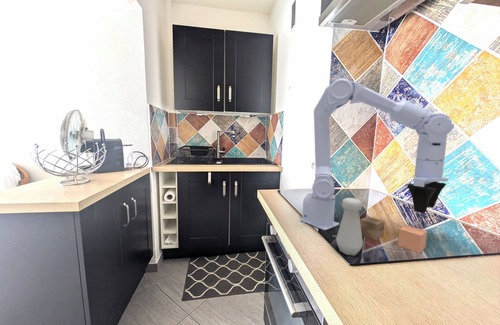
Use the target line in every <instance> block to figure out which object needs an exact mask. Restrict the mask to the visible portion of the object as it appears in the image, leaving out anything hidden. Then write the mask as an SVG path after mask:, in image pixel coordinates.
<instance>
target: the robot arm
mask: <svg viewBox="0 0 500 325" xmlns="http://www.w3.org/2000/svg"><path fill="white" fill-rule="evenodd" d="M348 102H349V104H350V105H352V104H358V103H362V104H365V105H367V106H370V107H373V108H375V109H377V110H380V111H383V112H385V113H388V115H389V118H390V120H391V121H393V122H396V123H397V124H400V125H402V126H404V127H407V128H409V129H410V130H413V131H415V132H416V133H417V135H418V139H417V146H416V147H417V148H416V158H415V165H414V166H415V167H414V174H413V183H408V184H407V189H408V191H409V193H410V195H411V198H412V205H413V210H414V212H416V213H422V214H425V213H426V212H427V210H428V208H430V209H433V208H435V205H436V203H437V201H438V199H439V196H440V194H441V192H442V191H443V189H444V188H445V187H446V185H447V183H445V182H448V181H449V178H448V177H443V174H444V167H445V166H444V165H445V158H446V150H447V149H446V148H447V138H448V135H449V134H450V133H451V132H452V131H453V129H454V128H455V124H454V123H453V121H452V119H451V117H450V116H448V115H447V114H445V113H435V110H434V109H432V108H429V109H428V108H427V109H426V108H425V107H422V106H420V105H418V104H416V101H414V100H413V99H410V100H405V99H404V100H401V101H398V102H397V101H395V100H393V99H391V98H389V97H387V96H385V95H383V94H381V93H379V92H376V91H375V90H373V89H371V88H369V87H367V86H365V85H363V84H361V83H359V82H357V81H354V80H353V81H350V80H349V79H347V78H346V77H345V78H343V77H341V78H337V79H335V80H334V81H332V82H331V83H330V84H329V85H328V86H327V87H326V88H325V90H324V91H323V94H322V95H321V96H320V99H319V100H318V102H317V104H316V106H315V107H314V110H313V128H314V129H313V130H314V134H313V135H314V158H315V159H314V160H315V174H314V175H315V178H314V180H313V181H314V182H313V183H312V187H311V188H312V193H308V194H306V195H305V196H304V198H303V201H302V215H301V216H302V218H300V221H301V222H303V223H305V224H308V225H310V226H313V227H315V228H318V229H320V230H322V231H326V230H329V229H332V228H335V227H337V226H340V222H337V221H335V209H336V208H335V206H336V196H335V195H334V194H335V181H334V179H333V177H332V175H331V174H332V173H331V170H332V169H331V139H330V138H331V135H330V134H331V132H330V131H331V130H330V129H331V128H330V117H331V115H332V114H333V113H334V112H335V111H337V109H339V108H341V107H343V106H345V105H346V104H347V103H348Z"/></svg>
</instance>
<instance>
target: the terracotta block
mask: <svg viewBox="0 0 500 325" xmlns="http://www.w3.org/2000/svg"><path fill="white" fill-rule="evenodd" d="M398 231H399V234H398V241H397V245H398V246H400V247H403V248H405V249H407V250H410V251H413V252H415V253H418V254H420V253H422V251H423V250H425V249H426V247H427V239H428V230H426V229H425V230H424V229H421V228H417V227H414V226H411V225H407V224H405V225H404V226H402V227H401V228H399V230H398Z"/></svg>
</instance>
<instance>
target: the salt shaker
mask: <svg viewBox="0 0 500 325" xmlns="http://www.w3.org/2000/svg"><path fill="white" fill-rule="evenodd" d="M341 206H342V208H343V214H342V218H341V221H340V223H339V229H338V231H337V235H336V237H335V238H336V239H335V240H336V243H337V246H338V250H339V252H341V253H342V254H344V255H345V256H346V255H347V256H354V257H355V256H357V255H358V254H359V253H360V251H361V249H362V248H363V245H364V241H363V235H362V233H361V225H360V218H361V217H360V211H362V209H363V202H362V201H361V200H360V199H357V198H355V197H346V198H343V199H342V201H341Z"/></svg>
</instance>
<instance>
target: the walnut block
mask: <svg viewBox="0 0 500 325" xmlns="http://www.w3.org/2000/svg"><path fill="white" fill-rule="evenodd" d="M360 225H361V233H362V237H365V238H369V239H371V240H374V241H378V240H380V239H381V238H383V237H384V230H385V220H381V219H378V218H375V217H371V216H365V217H364V218H361V219H360Z"/></svg>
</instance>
